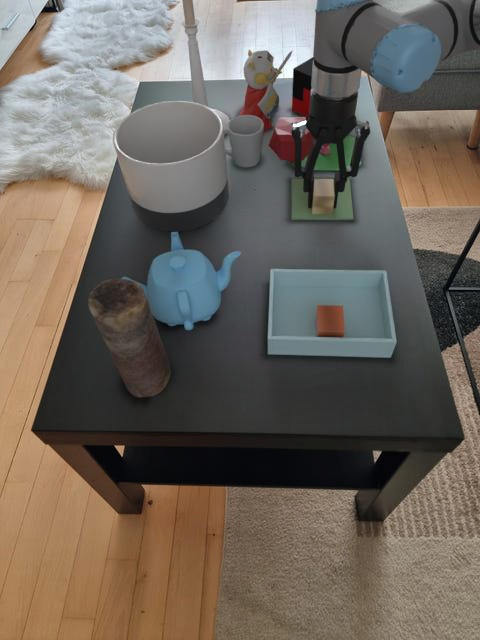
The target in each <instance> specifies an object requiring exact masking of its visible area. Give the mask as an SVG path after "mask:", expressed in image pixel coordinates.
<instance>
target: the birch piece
mask: <svg viewBox="0 0 480 640" xmlns="http://www.w3.org/2000/svg"><path fill="white" fill-rule="evenodd" d="M333 179H334V178H314V191H313V201H312V214H332V213H333V206H334V198H335V193H334V180H333Z"/></svg>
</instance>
